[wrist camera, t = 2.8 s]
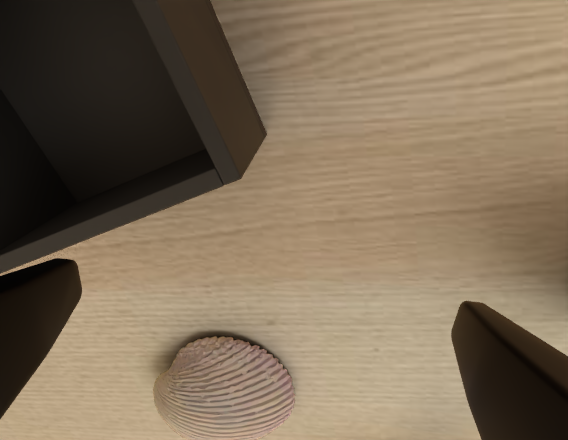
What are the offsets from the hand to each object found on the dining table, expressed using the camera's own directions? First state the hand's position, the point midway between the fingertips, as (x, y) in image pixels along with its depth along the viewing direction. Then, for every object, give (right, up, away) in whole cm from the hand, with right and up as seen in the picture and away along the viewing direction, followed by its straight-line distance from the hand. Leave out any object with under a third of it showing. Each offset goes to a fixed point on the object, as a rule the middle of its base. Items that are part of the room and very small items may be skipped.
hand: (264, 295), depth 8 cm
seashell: (-4, -11, +19) cm, 23 cm away
